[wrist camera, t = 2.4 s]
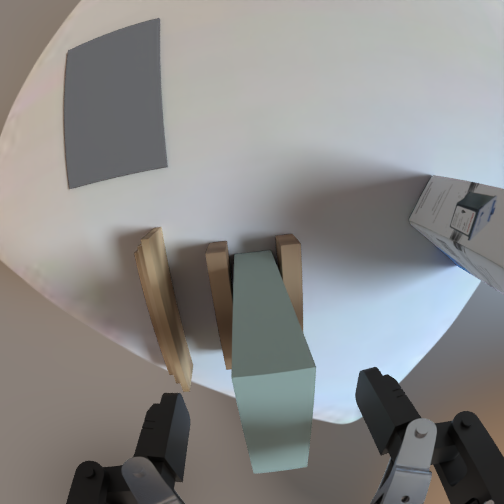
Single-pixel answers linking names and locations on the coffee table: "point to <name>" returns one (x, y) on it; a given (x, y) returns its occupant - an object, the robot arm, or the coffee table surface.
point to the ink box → (465, 225)
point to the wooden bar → (163, 306)
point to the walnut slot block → (223, 285)
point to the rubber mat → (114, 105)
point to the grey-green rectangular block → (270, 367)
